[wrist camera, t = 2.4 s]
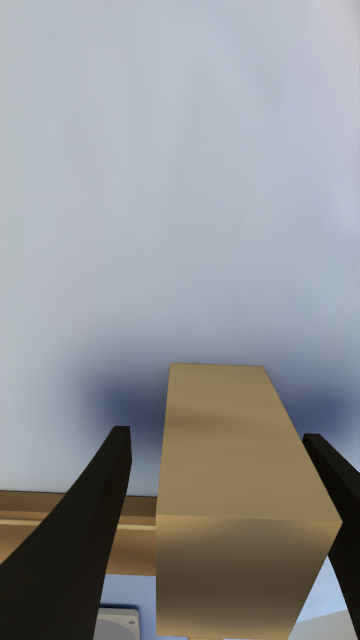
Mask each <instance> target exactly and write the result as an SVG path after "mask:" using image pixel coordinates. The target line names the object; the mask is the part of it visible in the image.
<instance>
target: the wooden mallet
mask: <svg viewBox="0 0 360 640" xmlns="http://www.w3.org/2000/svg"><path fill="white" fill-rule="evenodd" d="M342 523H343V522H342V520H341V518H340V516H339V514H338V512H337V510H336V508H335V506H334V504H333V502H332V500H331V498H330V496H329V494H328V492H327V490H326V488H325V486H324V485H323V483H322V481H321V479H320V477H319V475H318V473H317V471H316V469H315V467H314V465H313V463H312V461H311V459H310V457H309V455H308V453H307V451H306V449H305V447H304V445H303V443H302V441H301V439H300V437H299V435H298V433H297V432H296V430H295V428H294V426H293V424H292V422H291V420H290V418H289V416H288V414H287V412H286V410H285V408H284V406H283V404H282V402H281V400H280V398H279V396H278V394H277V392H276V390H275V388H274V386H273V384H272V382H271V380H270V378H269V377H268V375H267V373H266V371H265V369H264V367H263V366H245V365H220V364H194V363H170V372H169V382H168V393H167V403H166V413H165V424H164V434H163V444H162V455H161V465H160V475H159V486H158V496H157V506H156V635H157V636H181V637H188V640H223V638H229V639H254V640H287V639H288V637H289V635H290V633H291V631H292V629H293V627H294V625H295V623H296V620H297V618H298V616H299V614H300V612H301V610H302V608H303V606H304V603H305V601H306V599H307V597H308V595H309V593H310V591H311V589H312V586H313V584H314V582H315V580H316V578H317V576H318V574H319V571H320V569H321V567H322V565H323V563H324V561H325V559H326V557H327V554H328V552H329V550H330V548H331V546H332V544H333V542H334V540H335V537H336V535H337V533H338V531H339V529H340V527H341V525H342Z"/></svg>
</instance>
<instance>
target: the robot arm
mask: <svg viewBox="0 0 360 640" xmlns="http://www.w3.org/2000/svg"><path fill="white" fill-rule="evenodd" d="M302 443H303V445H304V447H305V449H306V451H307V453H308V455H309V457H310V459H311V461H312V463H313V465H314V467H315V469H316V471H317V473H318V475H319V477H320V479H321V481H322V483H323V485H324V486H325V488H326V490H327V492H328V494H329V496H330V498H331V500H332V502H333V504H334V506H335V508H336V510H337V512H338V514H339V516H340V518H341V520H342V522H343V523H342V525H341V527H340V529H339V531H338V533H337V535H336V537H335V540H334V542H333V544H332V546H331V548H330V550H329V552H328V554H327V555H328V557H329V560H330V562H331V564H332V567H333V569H334V572H335V574H336V577H337V580H338V582H339V585H340V588H341V591H342V594H343V597H344V599H345V602H346V605H347V608H348V611H349V614H350V617H351V620H352V623H353V626H354V629H355V632H356V635H357V638H358V640H360V473H359V472H358V471H357V470H356V469H355V468H354V467H353V466H352V465H351V464H350V463H349V462H348V461H347V460H346V459H345V458H344V457H343V456H342V455H341V454H340V453H339V452H337V451H336V450H335V449H334V448H333V447H332V446H331V445H330V444H329V443H328V442H327V441H326V440H325V439H324V438H323V437H322V436H321V435H320V434H308V433H304V436H303V440H302ZM131 464H132V453H131V436H130V426H114V427H113V428H112V430H111V432H110V433H109V435H108V436H107V438H106V440H105V441H104V443H103V444H102V446H101V447H100V449H99V450H98V451H97V453H96V454H95V456H94V457H93V459H92V460H91V461H90V463H89V464H88V465H87V467H86V468H85V470H84V471H83V472H82V474H81V475H80V476H79V478H78V479H77V480H76V481H75V483H74V484H73V485H72V486H71V488H70V489H69V490H68V491H67V493H66V494H65V495H64V496H63V498H62V499H61V500H60V501H59V502H58V503H57V505H56V506H55V507H54V508H53V509H52V510H51V512H50V513H49V514H48V515H47V516H46V517H45V518H44V519H43V521H42V522H41V523H40V524H39V525H38V526H37V527H36V528H35V529H34V530H33V531H32V532H31V533H30V534H29V536H28V537H27V538H26V539H25V540H24V541H23V542H22V543H21V544H20V545H19V546H18V547H17V548H16V549H15V550H14V551H13V552H12V553H11V554H10V555H9V556H8V557H7V558H6V559H5V560H4V561H3V562H2V563H1V564H0V640H140V625H139V613H138V611H137V610H134V609H113V608H99V605H100V600H101V594H102V589H103V584H104V579H105V574H106V569H107V565H108V561H109V556H110V553H111V549H112V545H113V541H114V538H115V534H116V530H117V526H118V522H119V519H120V515H121V511H122V507H123V504H124V500H125V496H126V492H127V488H128V482H129V476H130V470H131Z"/></svg>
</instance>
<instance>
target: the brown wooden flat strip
mask: <svg viewBox="0 0 360 640" xmlns="http://www.w3.org/2000/svg"><path fill="white" fill-rule="evenodd" d="M64 495H65V494H57V493H33V492H9V491H0V564H1V563H2V562H3V561H4V560H5V559H6V558H7V557H8V556H9V555H10V554H11V553H12V552H13V551H14V550H15V549H16V548H17V547H18V546H19V545H20V544H21V543H22V542H23V541H24V540H25V539H26V538H27V537H28V536H29V534H30V533H31V532H32V531H33V530H34V529H35V528H36V527H37V526H38V525H39V524H40V523H41V522H42V521H43V519H44V518H45V517H46V516H47V515H48V514H49V513H50V512H51V510H52V509H53V508H54V507H55V506H56V505H57V503H58V502H59V501H60V500H61V499H62V498H63V496H64ZM156 506H157V498H154V497H129V496H125V500H124V504H123V507H122V511H121V515H120V519H119V522H118V526H117V530H116V534H115V538H114V541H113V545H112V549H111V553H110V556H109V561H108V565H107V569H106V574H120V575H144V576H156Z"/></svg>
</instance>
